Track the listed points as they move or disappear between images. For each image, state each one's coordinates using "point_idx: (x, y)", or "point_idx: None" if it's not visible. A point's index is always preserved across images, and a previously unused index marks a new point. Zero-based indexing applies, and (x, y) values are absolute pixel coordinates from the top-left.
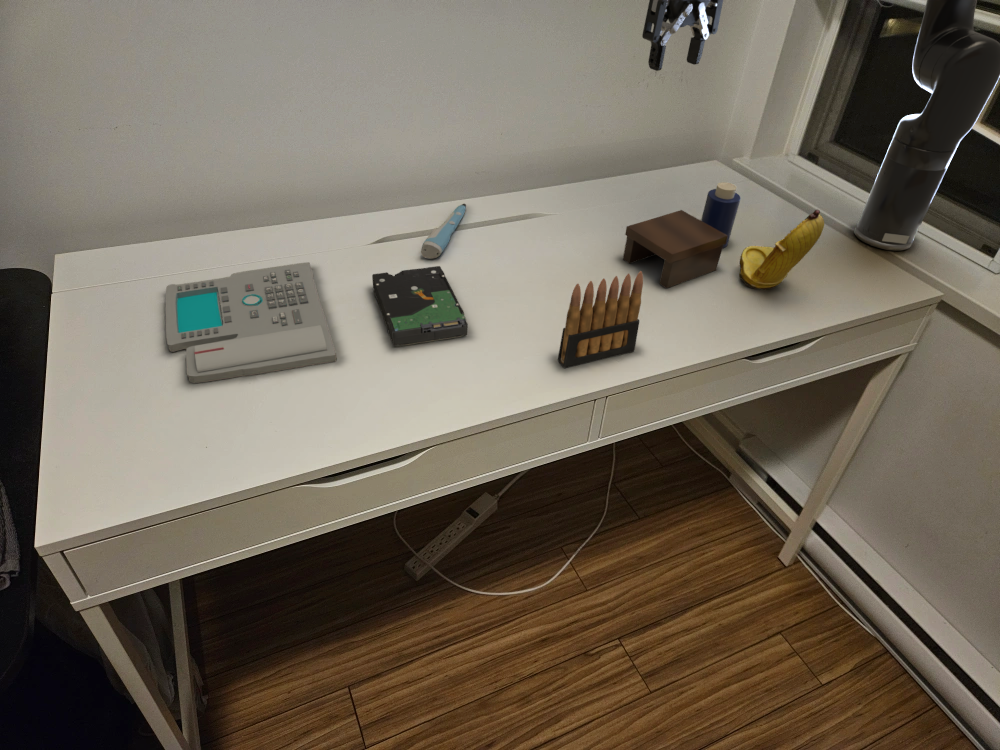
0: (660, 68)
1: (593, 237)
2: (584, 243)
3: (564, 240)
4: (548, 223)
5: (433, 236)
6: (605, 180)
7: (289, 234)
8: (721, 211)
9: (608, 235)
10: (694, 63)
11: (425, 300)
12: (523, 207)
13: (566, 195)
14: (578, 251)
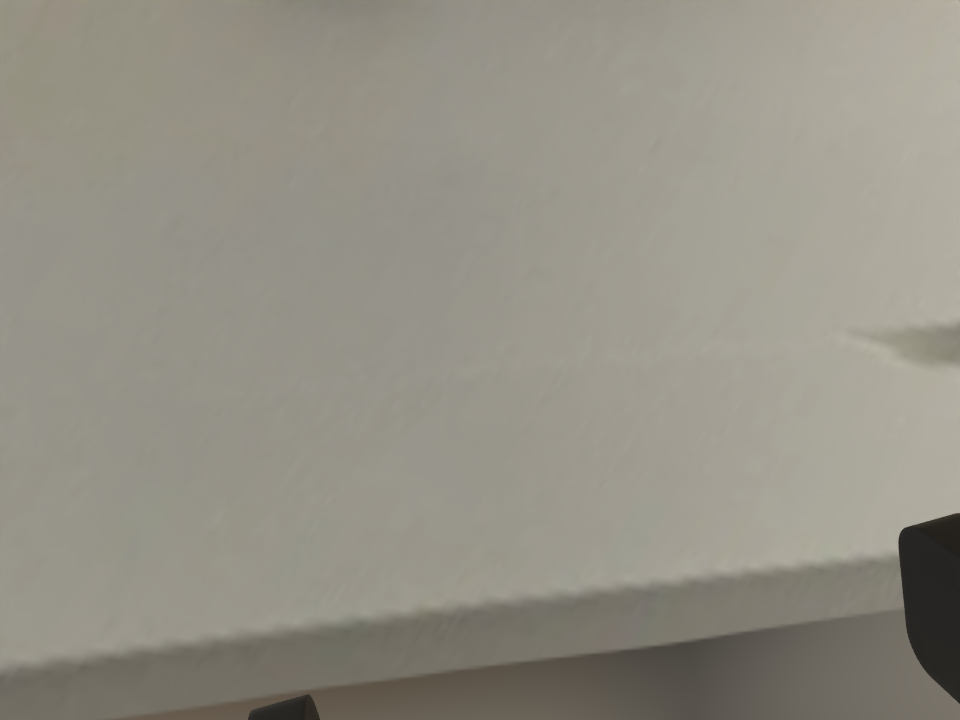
0: (938, 520)
1: (819, 98)
2: (880, 61)
3: (938, 111)
4: (919, 267)
5: None
6: (486, 585)
7: None
8: None
9: (751, 94)
10: (312, 713)
11: None
12: (936, 422)
13: (724, 484)
14: (938, 4)
